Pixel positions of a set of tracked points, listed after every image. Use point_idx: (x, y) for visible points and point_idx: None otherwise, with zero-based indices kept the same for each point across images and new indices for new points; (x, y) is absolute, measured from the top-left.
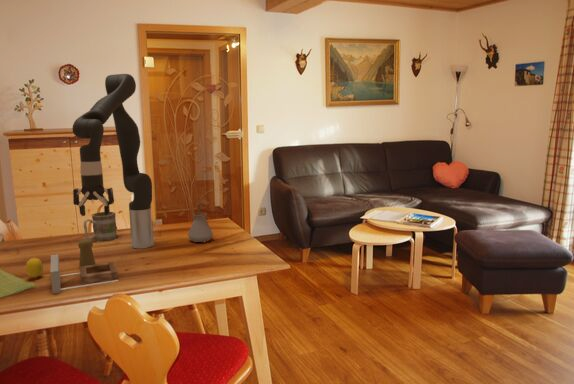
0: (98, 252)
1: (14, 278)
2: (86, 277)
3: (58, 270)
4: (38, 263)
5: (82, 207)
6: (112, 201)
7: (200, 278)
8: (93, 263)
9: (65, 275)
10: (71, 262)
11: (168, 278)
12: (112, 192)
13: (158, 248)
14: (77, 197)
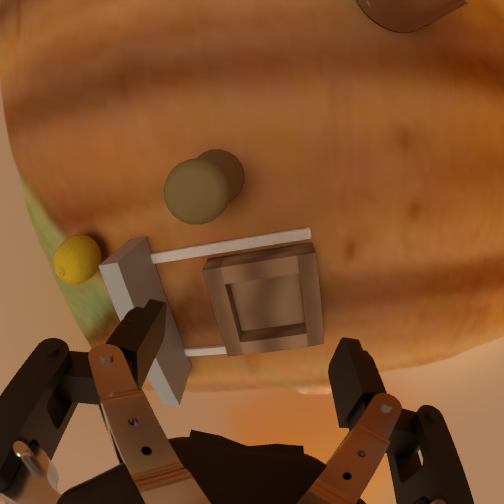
0: (234, 18)
1: (50, 233)
2: (241, 353)
3: (175, 395)
4: (84, 278)
5: (139, 387)
6: (419, 447)
7: (474, 346)
8: (237, 191)
9: (166, 261)
10: (152, 115)
11: (429, 338)
12: (459, 498)
13: (444, 56)
14: (52, 429)
